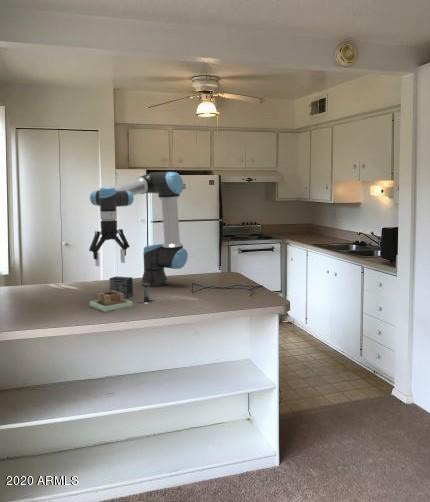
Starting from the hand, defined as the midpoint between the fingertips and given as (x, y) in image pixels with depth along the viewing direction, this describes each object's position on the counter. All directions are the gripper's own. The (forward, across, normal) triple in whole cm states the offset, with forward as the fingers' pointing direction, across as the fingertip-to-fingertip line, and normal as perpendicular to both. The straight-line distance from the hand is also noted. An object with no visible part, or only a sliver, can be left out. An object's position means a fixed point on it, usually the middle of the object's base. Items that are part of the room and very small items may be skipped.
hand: (110, 264), depth 246 cm
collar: (+20, -1, 0) cm, 20 cm away
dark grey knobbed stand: (+21, +16, -5) cm, 27 cm away
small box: (+21, +13, +14) cm, 28 cm away
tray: (+21, -1, 0) cm, 21 cm away
